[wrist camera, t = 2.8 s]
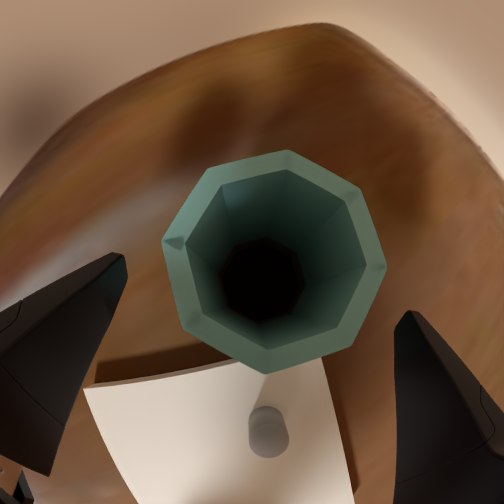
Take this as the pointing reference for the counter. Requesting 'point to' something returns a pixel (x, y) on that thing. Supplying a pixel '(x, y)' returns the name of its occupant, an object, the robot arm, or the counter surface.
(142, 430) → the pin board
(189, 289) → the teal faceted cylinder
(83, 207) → the counter surface
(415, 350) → the robot arm
